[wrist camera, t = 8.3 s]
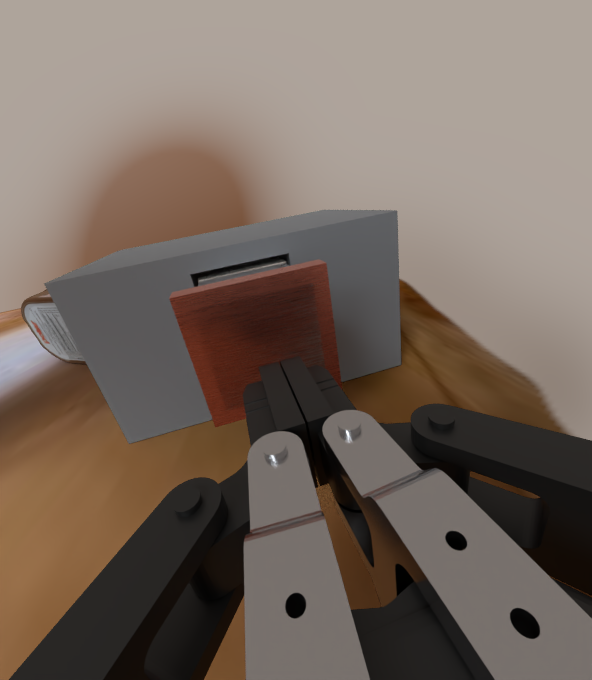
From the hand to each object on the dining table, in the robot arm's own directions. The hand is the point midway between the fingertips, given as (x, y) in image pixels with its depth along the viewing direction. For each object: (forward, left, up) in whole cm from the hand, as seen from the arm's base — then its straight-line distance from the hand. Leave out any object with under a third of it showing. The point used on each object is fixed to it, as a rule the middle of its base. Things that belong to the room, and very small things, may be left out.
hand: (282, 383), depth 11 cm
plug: (-5, +9, -3) cm, 11 cm away
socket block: (-8, +14, -7) cm, 17 cm away
